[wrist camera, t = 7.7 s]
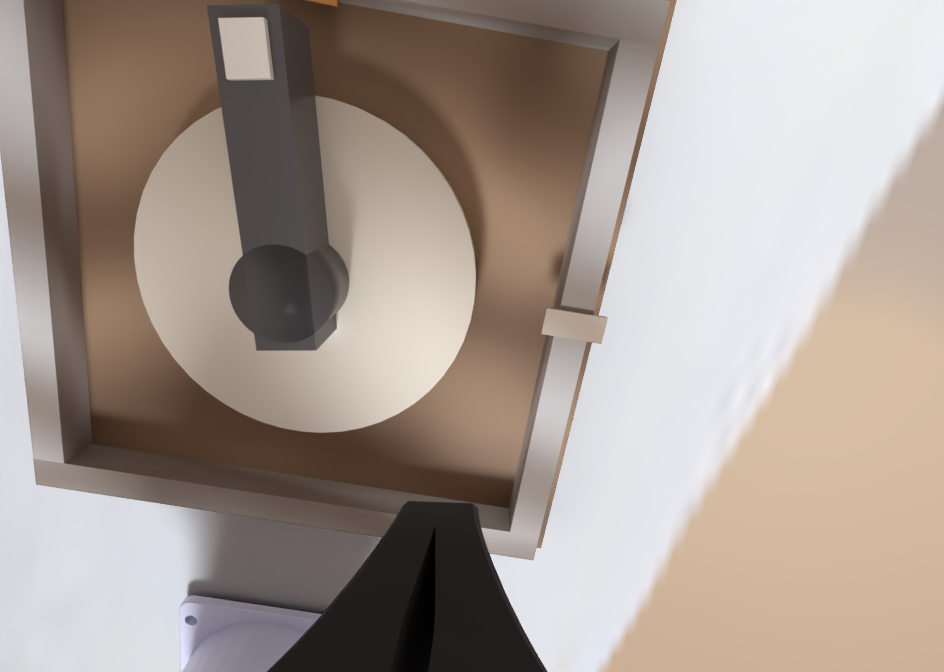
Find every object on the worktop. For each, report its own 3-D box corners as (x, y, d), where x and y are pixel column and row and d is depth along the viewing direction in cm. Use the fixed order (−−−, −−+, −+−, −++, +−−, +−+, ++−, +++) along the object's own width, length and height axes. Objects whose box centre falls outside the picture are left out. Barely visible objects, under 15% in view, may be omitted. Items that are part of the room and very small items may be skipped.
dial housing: (536, 522, 21) (544, 576, 18) (83, 452, 20) (19, 496, 17) (658, 14, 15) (697, -20, 13) (43, -98, 15) (-60, -161, 12)
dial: (477, 418, 18) (475, 471, 14) (185, 418, 18) (123, 469, 15) (474, 34, 14) (471, -3, 11) (112, 41, 14) (11, 5, 11)
